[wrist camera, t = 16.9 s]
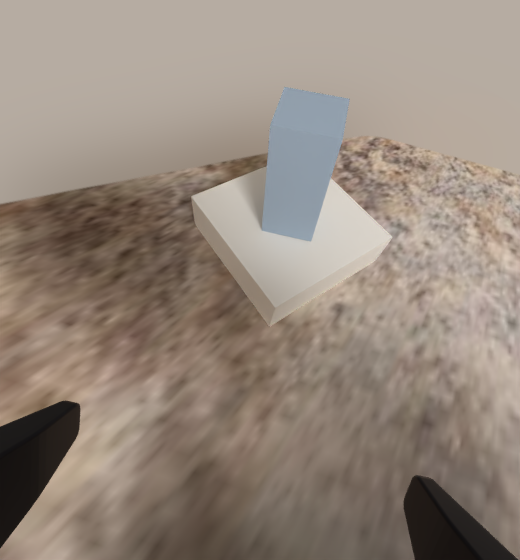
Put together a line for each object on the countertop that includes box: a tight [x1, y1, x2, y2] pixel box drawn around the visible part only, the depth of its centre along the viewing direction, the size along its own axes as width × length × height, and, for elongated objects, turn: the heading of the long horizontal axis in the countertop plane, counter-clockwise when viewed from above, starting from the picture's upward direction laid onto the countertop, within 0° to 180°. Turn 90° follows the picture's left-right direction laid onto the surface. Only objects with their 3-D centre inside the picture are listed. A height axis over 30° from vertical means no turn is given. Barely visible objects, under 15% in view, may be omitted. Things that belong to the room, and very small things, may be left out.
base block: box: [191, 166, 392, 327], centre depth 28 cm, size 12×12×4 cm
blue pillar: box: [262, 87, 349, 241], centre depth 22 cm, size 4×4×9 cm
